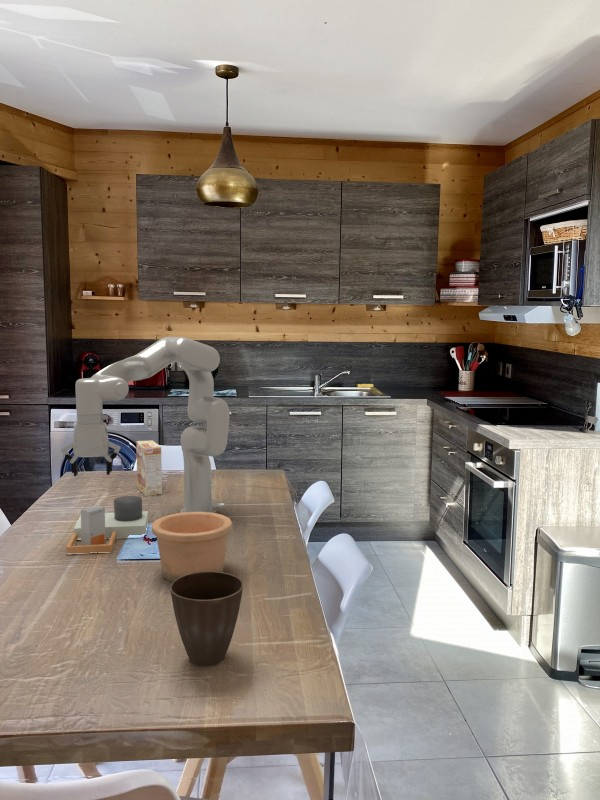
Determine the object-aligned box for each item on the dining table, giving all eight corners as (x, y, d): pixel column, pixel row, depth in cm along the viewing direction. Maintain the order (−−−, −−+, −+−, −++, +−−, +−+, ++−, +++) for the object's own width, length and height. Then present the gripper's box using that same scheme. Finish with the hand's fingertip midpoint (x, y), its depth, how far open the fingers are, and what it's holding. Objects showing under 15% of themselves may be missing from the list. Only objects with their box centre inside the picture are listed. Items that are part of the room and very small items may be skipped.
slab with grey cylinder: (148, 522, 235) (147, 494, 234) (142, 551, 207) (141, 519, 206) (81, 525, 232) (80, 496, 231) (66, 555, 203) (65, 522, 202)
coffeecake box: (136, 487, 281) (135, 441, 279) (154, 486, 284) (153, 439, 282) (144, 496, 268) (143, 447, 265) (162, 494, 271) (161, 446, 268)
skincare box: (89, 550, 208) (88, 512, 206) (81, 547, 210) (79, 509, 209) (106, 545, 213) (105, 507, 211) (97, 542, 215) (96, 505, 214)
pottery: (155, 592, 177) (154, 538, 175) (150, 562, 198) (149, 514, 196) (238, 584, 183) (238, 532, 181) (225, 555, 204) (224, 508, 202)
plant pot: (245, 640, 152) (244, 570, 150) (241, 675, 137) (241, 599, 135) (177, 641, 151) (175, 571, 149) (166, 676, 136) (164, 600, 134)
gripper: (120, 416, 212) (122, 470, 215) (62, 418, 210) (64, 472, 212) (118, 420, 205) (120, 476, 207) (57, 422, 202) (60, 478, 205)
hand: (92, 474), depth 210 cm, fingers open, 9 cm apart
